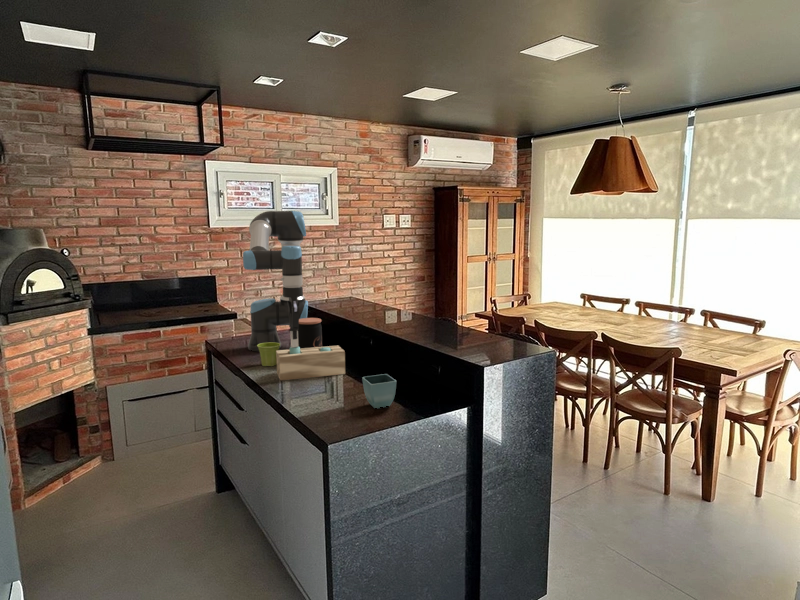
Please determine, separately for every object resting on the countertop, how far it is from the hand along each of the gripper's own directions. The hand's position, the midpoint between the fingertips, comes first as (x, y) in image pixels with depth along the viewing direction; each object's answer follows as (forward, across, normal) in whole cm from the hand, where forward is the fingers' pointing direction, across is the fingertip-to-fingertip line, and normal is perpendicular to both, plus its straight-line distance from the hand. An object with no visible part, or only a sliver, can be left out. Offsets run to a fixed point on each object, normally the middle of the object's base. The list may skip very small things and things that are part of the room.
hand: (294, 346), depth 198 cm
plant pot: (+11, -19, -8) cm, 24 cm away
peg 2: (+11, 0, +12) cm, 16 cm away
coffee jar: (+11, -19, +9) cm, 24 cm away
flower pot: (+12, +45, +20) cm, 50 cm away
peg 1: (+9, 0, 0) cm, 9 cm away
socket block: (+11, 0, +6) cm, 13 cm away
